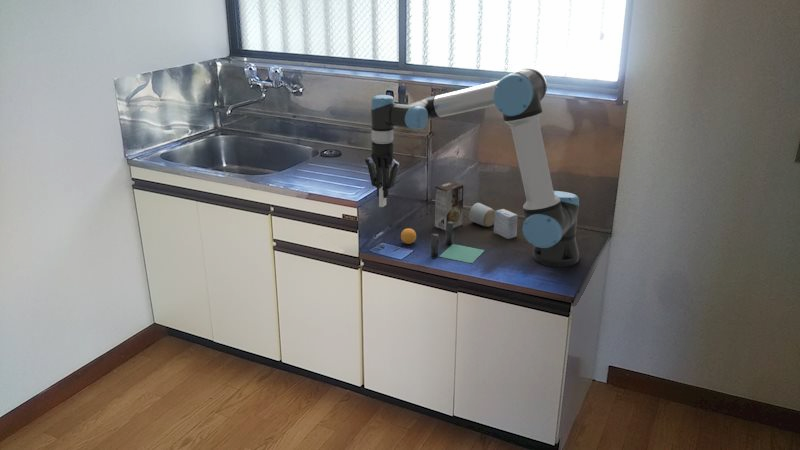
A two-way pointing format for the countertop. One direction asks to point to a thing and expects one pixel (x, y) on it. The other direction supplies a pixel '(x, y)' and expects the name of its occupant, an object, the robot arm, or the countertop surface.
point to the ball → (408, 236)
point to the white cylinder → (482, 214)
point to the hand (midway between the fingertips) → (382, 205)
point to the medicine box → (505, 223)
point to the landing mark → (462, 253)
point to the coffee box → (448, 204)
